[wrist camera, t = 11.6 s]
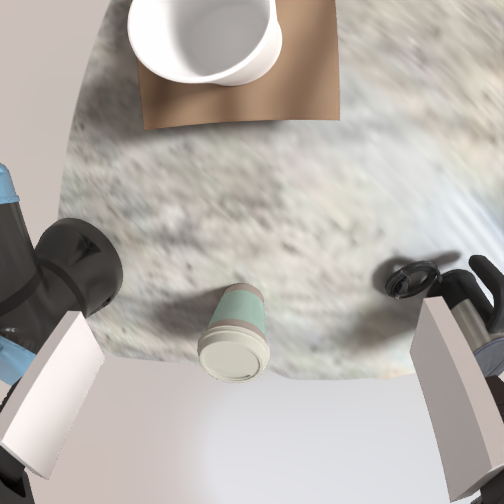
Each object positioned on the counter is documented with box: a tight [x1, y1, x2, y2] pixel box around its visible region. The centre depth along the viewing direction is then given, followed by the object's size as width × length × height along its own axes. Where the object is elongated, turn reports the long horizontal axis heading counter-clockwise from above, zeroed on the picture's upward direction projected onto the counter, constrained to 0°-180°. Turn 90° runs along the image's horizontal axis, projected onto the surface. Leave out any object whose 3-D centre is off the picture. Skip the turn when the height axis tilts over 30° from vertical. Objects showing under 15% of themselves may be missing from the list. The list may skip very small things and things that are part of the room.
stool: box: [137, 0, 340, 130], centre depth 26 cm, size 18×18×7 cm
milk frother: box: [385, 255, 504, 378], centre depth 35 cm, size 14×16×15 cm
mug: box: [127, 0, 282, 86], centre depth 17 cm, size 12×8×12 cm
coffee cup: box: [197, 283, 270, 383], centre depth 40 cm, size 8×8×12 cm
